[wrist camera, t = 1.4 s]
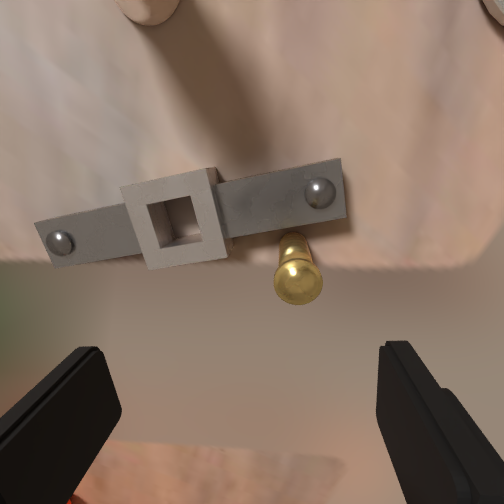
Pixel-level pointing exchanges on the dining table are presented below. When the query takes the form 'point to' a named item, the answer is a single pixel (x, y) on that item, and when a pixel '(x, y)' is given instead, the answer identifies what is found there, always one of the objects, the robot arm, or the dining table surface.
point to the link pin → (296, 271)
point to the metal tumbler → (148, 10)
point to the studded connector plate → (206, 210)
